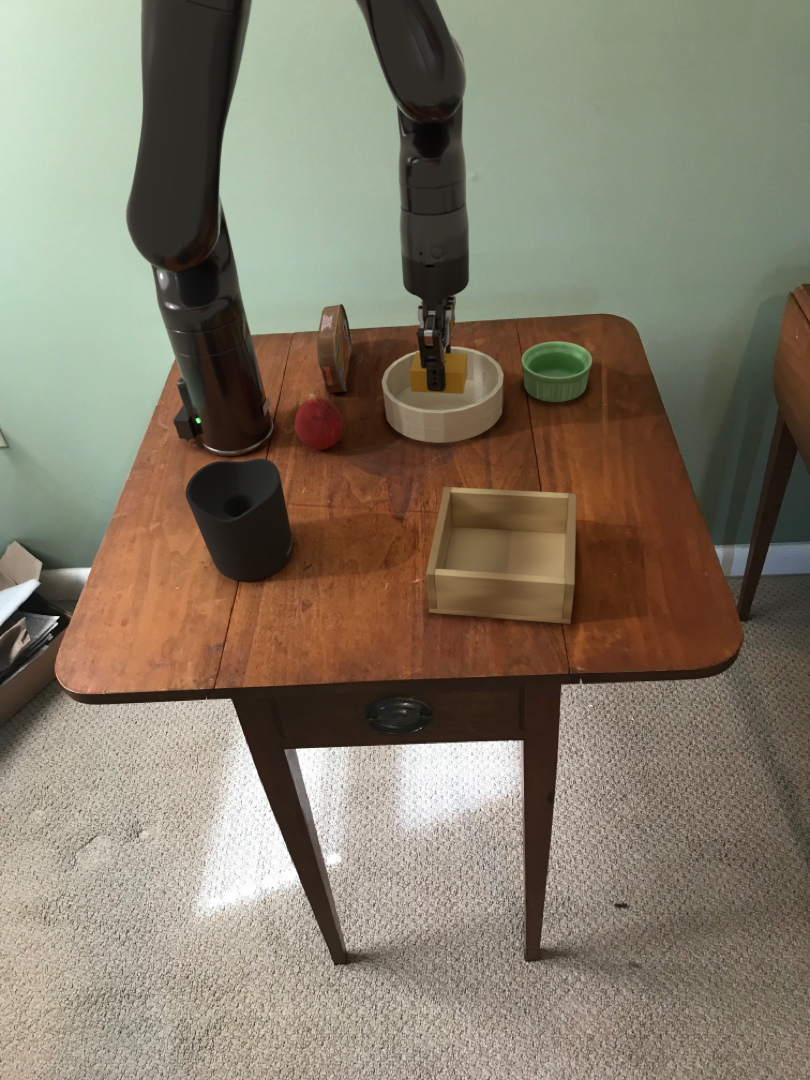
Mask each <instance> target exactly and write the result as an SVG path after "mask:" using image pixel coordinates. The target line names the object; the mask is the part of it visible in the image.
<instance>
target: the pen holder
mask: <svg viewBox="0 0 810 1080" xmlns="http://www.w3.org/2000/svg"><path fill="white" fill-rule="evenodd" d="M185 497H186V501H187V503H188V506H189V508H190V510H191V513H192V515H193V518H194V520H195V523H196V525H197V527H198V529H199V532H200V534H201V536H202V540H203V541H204V544H205V547H206V548H207V551H208V553H209V555H210V558H211V560H212V562H213V564H214V566H215V568H216V569H217V571H218V572H219V573H221V574H222V575H223V576H225V577H226V578H229V579H231V580H234V581H239V582H253V581H258V580H262V579H265V578H267V577H270V576H272V575H274V574H275V573H277V572H279V570H281V569H282V568H283V567H284V566H285V565H286V564H287V562H288V561H289V560H290V558H291V556H292V554H293V549H294V541H293V536H292V530H291V524H290V520H289V514H288V509H287V503H286V498H285V494H284V489H283V484H282V479H281V474H280V470H279V469H278V467H277V466H276V464H275V463H273V461H271V460H269V459H266V458H253V459H248V460H243V461H242V460H241V461H240V460H239V461H236V460H235V461H234V460H218V461H214V462H210V463H208V464H205V465H204V466H202V467H201V468H199V469H198V470H197V471H196V472H195V473H194V474H193V475H192V476H191V477H190V479H189V480H188V482H187V485H186V488H185Z"/></svg>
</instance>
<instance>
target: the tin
mask: <svg viewBox="0 0 810 1080" xmlns="http://www.w3.org/2000/svg"><path fill="white" fill-rule="evenodd" d="M349 324H350V323H349V319H348V315H347V311H346V308H345V307H344V304H342V303H339V304H335V305H329V306H328V305H327V306H325V307H323V309H322V312H321V316H320V321H319V326H318V331H317V332H318V333H317V338H316V353H317V362H318V366H319V369H320V372H321V375H322V379H323V383H324V389H325V391H326V392H327V393H329V394H332V393H343V392H344V393H348V389H347V388H346V382H347V377H348V370H349V363H350V357H351V354H352V353H353V345H352V344H353V343H352V336H351V335H352V334H351V330H350V325H349Z"/></svg>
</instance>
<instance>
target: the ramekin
mask: <svg viewBox="0 0 810 1080" xmlns="http://www.w3.org/2000/svg"><path fill="white" fill-rule="evenodd" d="M520 360H521V367H522V370H523V371H522V372H523V385H524V389H525V391H526V392H527V394H529V396H531V397H532V398H534V399H537V400H539V401H543V402H550V403H561V402H566V401H567V402H568V401H571V400H574V399H576V398H578V397H580V396H582V394H584V392H585V391H586V389H587V386H588V385H587V384H588V379H589V374H590V371H591V368H592V364H593V356H592V355H591V353H590V352H589V350H588V349H586V348H585V347H583V346H581V345H579V344H577V343H572V342H567V341H546V342H541V343H538V344H535V345H533V346H531V347H529V348H528V349H527V350H525V351H524V352H523V354H522V356H521V359H520Z"/></svg>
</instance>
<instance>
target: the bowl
mask: <svg viewBox="0 0 810 1080" xmlns="http://www.w3.org/2000/svg"><path fill="white" fill-rule="evenodd" d="M416 352H419V350H416V351H413V352H410V353H407V354H405V355H404V356H402V357H399V358H398V359H397V360H395V361H393V362H392V364H390V365H389V366H388V367H387V368H386V370H385V371H384V373H383V376H382V379H381V389H382V396H383V406H384V413H385V417H386V421H387V422H388V424H389V425H390V426H391V427H392V428H393V430H395V431H396V432H398V433H399V434H401V435H402V436H404V437H407V438H410V439H412V440H415V441H418V442H419V441H420V442H424V443H433V444H434V443H435V444H437V443H438V444H439V443H440V444H444V443H445V444H446V443H455V442H460V441H465V440H468V439H471V438H474V437H477V436H479V435H481V434H483V433H485V432H486V431H488V430H489V429H490V428H492V427H493V426H494V425H495V424H496V423H497V422H498V420H499V419H500V417H501V416H502V414H503V409H504V392H505V391H504V385H505V383H504V382H505V381H504V380H505V374H504V371H503V369H502V367H501V365H500V363H499V362H498V361H496V360H495V359H494V358H493V357H492V356H490V355H489V354H486V353H483V352H482V351H479V350H477V349H472V348H467V347H463V346H451V353H455V354H467V378H466V383H465V387H464V392H463V394H455V393H433V392H412V391H411V377H410V370H411V367H412V364H413V361H414V357H415V354H416Z"/></svg>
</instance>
